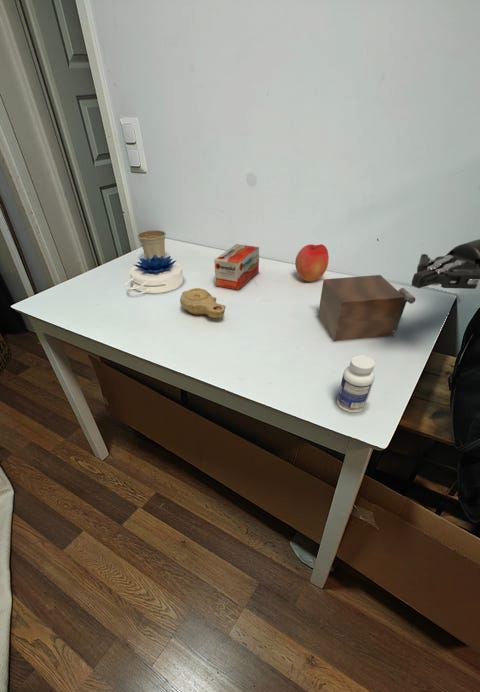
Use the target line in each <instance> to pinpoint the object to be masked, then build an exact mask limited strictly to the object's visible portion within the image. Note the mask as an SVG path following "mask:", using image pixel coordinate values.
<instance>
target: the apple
mask: <svg viewBox="0 0 480 692" xmlns="http://www.w3.org/2000/svg"><path fill="white" fill-rule="evenodd" d="M329 257H330V256H329V251H328V248H327V246H325V245H324V244H322V243H321V244H312V243H311V244H306V245H305V246H303V247H301V249H300V250H299V251H298V252H297V254H296V257H295V261H294V262H295V270H296V272H297V274H298V275H299V276H300V278H302V279H303V280H304V281H306V282H314V281H316V280H319V279H320V278H321V277H322V276H324V274H325V272H326V271H327V269H328V265H329V259H330V258H329Z"/></svg>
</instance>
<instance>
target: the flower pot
mask: <svg viewBox="0 0 480 692" xmlns="http://www.w3.org/2000/svg"><path fill="white" fill-rule="evenodd" d="M166 235H167V233H166V231H164V230H161V229H149V230H143V231H141V232H138V233H137V234H136V237H137V238H138V241H139V242H140V245H141V247H142V250H143V253H144V255H145V259H146V258H147V257H148V258H150V259H152V258H153V256H154V255H156V256H157V257H158V258H159V257H161V256H163V258H164V259H165V258H166V247H165V245H166V244H165V243H166V242H165V240H166ZM146 260H147V259H146Z"/></svg>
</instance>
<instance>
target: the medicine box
mask: <svg viewBox="0 0 480 692" xmlns="http://www.w3.org/2000/svg"><path fill="white" fill-rule="evenodd" d="M213 260H214V262H213V264H214V277H215V286H216V287H220V288H224V289H225V288H226V289H231V290H237V291H239V290H241V289H242V288H243V287H244V286H245V285H246V284H247V283H249V282H250V281H251V280H252V279H253V278H254V277H255V276H257V275H258V273H259V269H260V246H255V245H254V246H253V245H246V244H240V243H236V244H234V245H233V246H231V247H230V248H228V249H227V250H225V251H224V252H223V253H221V254H219V255H218V256H216V257H215V258H214V259H213Z"/></svg>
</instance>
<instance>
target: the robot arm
mask: <svg viewBox="0 0 480 692" xmlns="http://www.w3.org/2000/svg"><path fill="white" fill-rule="evenodd" d="M479 283H480V238H478V239H474V240H472V241H471V240H470V241H468V242H466V243H465V242H464V243H462V244H458V245H457V246H455V247H453V248H452V249H450V250H449V251H448V253H447V254H445V255H443V256H442V255H441V256H440V255H439V256H436V257H435V258H434V259H431V257H430V256H429V255H428V254H426V253H424V254H423V253H422V254H421V255H420V258H419V260H418V264H417V267H416V273H414V274H413V277H412V279H411V286H412V287H414V288H417V289H422V288H425V287H428V286H440V287H441V288H443V289H468V290H476V288H477V286H478V284H479Z"/></svg>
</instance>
